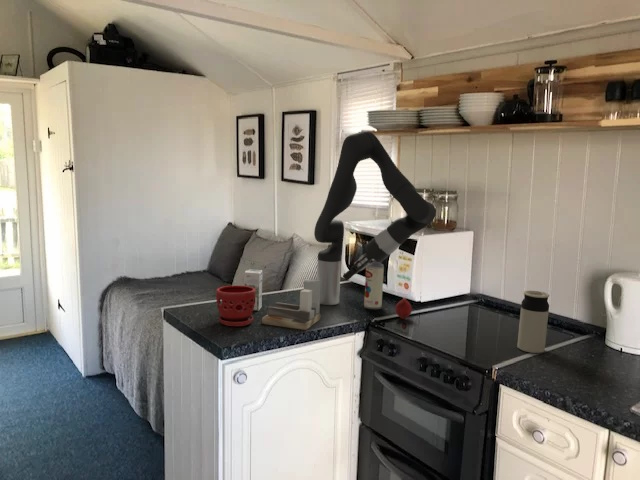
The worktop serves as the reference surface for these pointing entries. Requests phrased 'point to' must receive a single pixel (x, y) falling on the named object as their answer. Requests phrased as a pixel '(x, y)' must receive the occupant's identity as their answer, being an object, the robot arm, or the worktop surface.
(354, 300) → the worktop surface
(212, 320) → the worktop surface
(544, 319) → the travel mug
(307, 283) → the skincare box
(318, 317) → the switch plate
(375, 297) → the aerosol can
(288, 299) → the worktop surface
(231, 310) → the plant pot
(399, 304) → the onion
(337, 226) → the robot arm
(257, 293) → the syrup box
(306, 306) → the switch knob
